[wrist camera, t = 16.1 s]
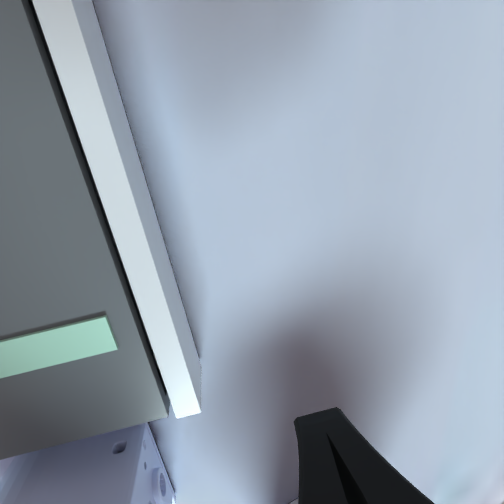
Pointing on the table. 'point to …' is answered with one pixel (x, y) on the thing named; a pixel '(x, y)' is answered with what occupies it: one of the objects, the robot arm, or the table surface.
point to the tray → (121, 189)
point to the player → (58, 272)
